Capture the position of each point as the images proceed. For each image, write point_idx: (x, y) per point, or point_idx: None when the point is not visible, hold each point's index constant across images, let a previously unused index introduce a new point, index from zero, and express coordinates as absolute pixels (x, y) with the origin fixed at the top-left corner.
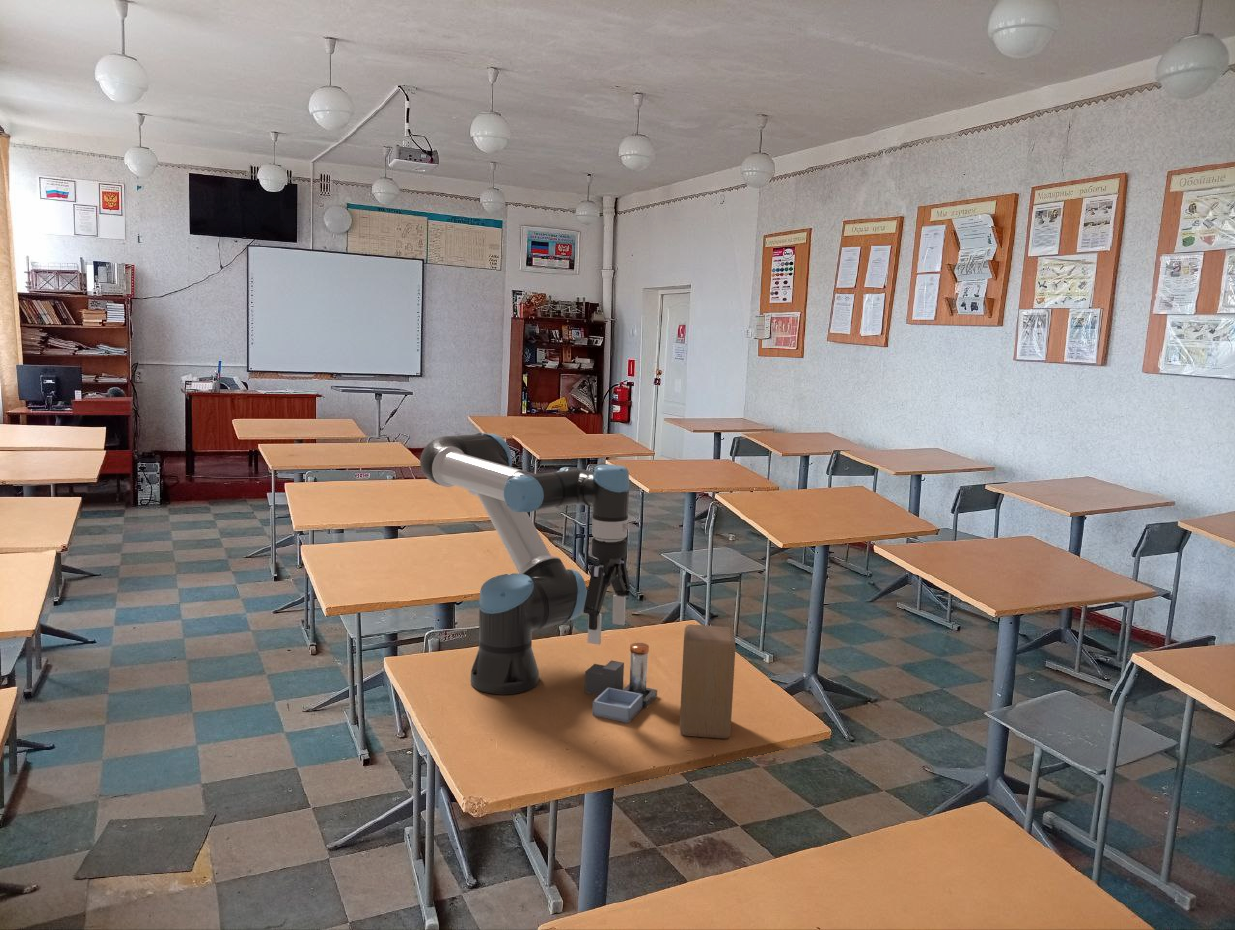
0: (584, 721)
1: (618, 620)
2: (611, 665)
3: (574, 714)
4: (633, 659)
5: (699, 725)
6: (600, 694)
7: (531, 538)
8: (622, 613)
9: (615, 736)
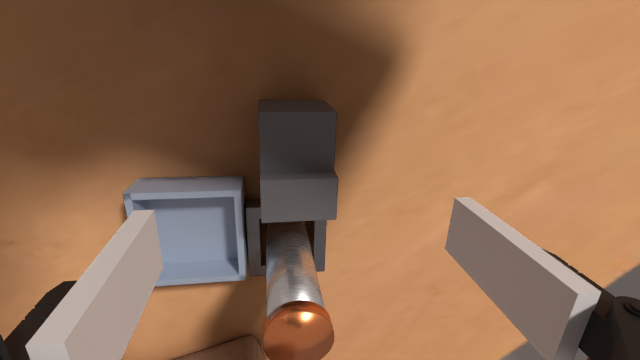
0: (91, 175)
1: (459, 237)
2: (295, 196)
3: (111, 134)
4: (268, 303)
5: None
6: (180, 192)
7: None
8: (478, 279)
9: (69, 267)
